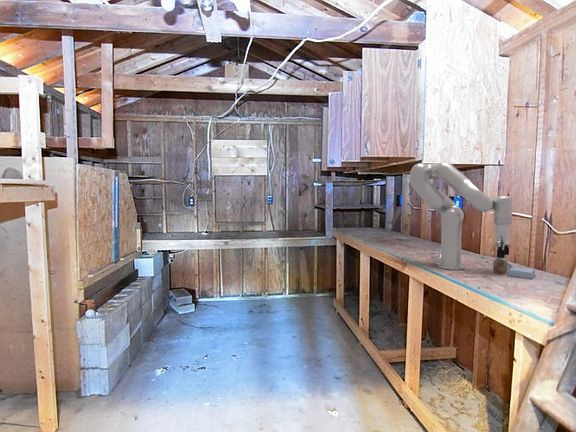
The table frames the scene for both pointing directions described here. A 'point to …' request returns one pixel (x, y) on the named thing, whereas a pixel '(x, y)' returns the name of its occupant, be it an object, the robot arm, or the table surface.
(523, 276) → the base block
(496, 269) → the walnut block
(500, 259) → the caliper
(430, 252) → the table surface
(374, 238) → the table surface
